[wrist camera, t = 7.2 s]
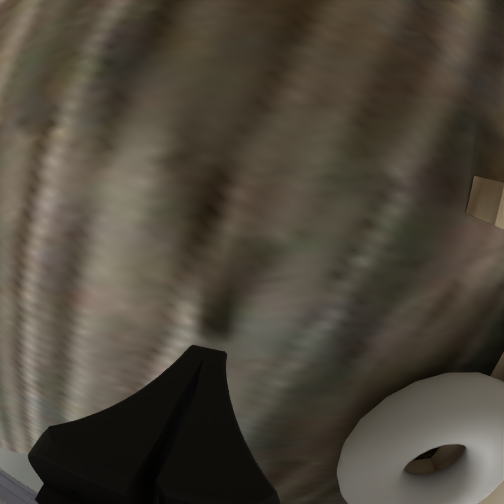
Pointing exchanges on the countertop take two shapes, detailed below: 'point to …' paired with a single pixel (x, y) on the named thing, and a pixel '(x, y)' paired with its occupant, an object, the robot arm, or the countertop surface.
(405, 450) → the white rubber ring
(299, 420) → the countertop surface
